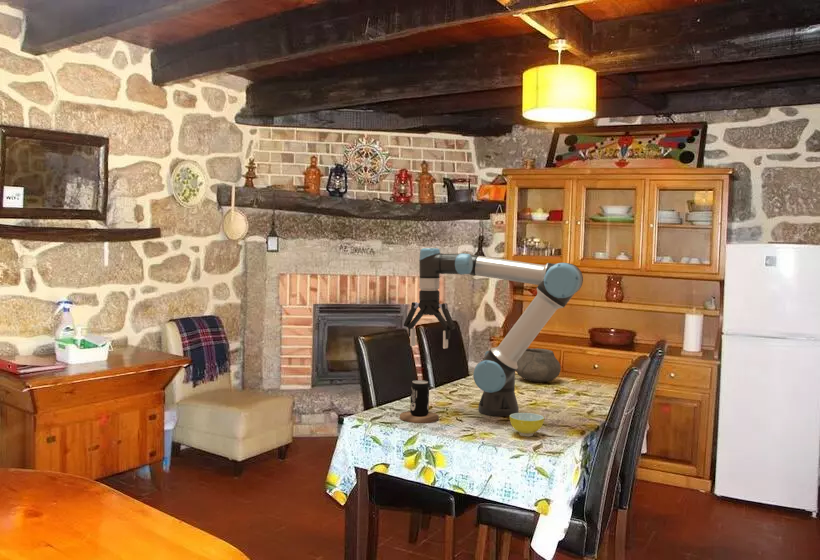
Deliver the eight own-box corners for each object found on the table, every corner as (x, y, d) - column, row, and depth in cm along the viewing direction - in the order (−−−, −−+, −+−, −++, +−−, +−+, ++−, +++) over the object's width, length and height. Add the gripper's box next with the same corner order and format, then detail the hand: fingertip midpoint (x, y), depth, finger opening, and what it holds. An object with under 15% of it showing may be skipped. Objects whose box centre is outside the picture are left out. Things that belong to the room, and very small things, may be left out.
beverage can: (426, 417, 249) (427, 383, 248) (408, 416, 250) (409, 382, 250) (429, 413, 255) (430, 380, 255) (412, 412, 257) (413, 379, 256)
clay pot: (564, 380, 340) (565, 349, 340) (554, 387, 321) (555, 354, 320) (520, 375, 349) (521, 345, 349) (508, 382, 330) (509, 350, 329)
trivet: (445, 417, 255) (445, 414, 255) (425, 425, 243) (425, 421, 243) (413, 412, 262) (413, 408, 262) (392, 419, 251) (392, 415, 251)
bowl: (505, 436, 230) (506, 418, 230) (513, 429, 241) (513, 411, 241) (540, 441, 226) (540, 421, 226) (546, 432, 237) (546, 414, 237)
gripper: (464, 290, 258) (463, 348, 258) (404, 288, 270) (404, 343, 270) (455, 291, 251) (455, 350, 252) (395, 289, 263) (394, 345, 264)
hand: (428, 347), depth 261 cm, fingers open, 13 cm apart
